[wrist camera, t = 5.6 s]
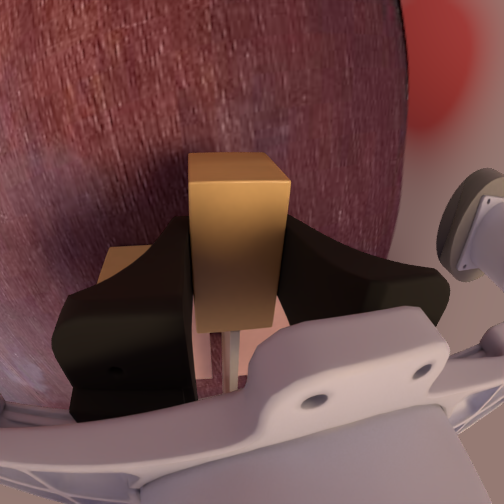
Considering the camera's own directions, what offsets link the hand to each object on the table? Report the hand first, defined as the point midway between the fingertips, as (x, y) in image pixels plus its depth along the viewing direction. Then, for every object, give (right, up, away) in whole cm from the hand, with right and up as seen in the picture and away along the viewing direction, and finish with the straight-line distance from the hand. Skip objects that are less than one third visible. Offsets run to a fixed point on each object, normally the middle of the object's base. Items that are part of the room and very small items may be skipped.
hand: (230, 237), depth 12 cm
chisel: (-1, -3, +3) cm, 5 cm away
